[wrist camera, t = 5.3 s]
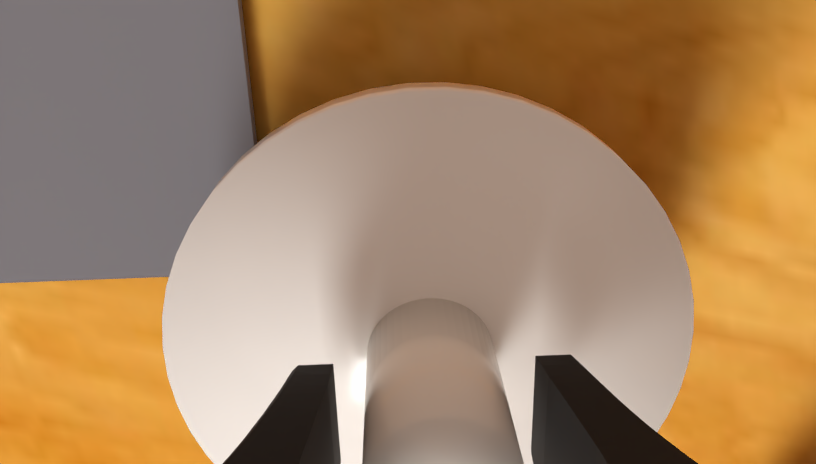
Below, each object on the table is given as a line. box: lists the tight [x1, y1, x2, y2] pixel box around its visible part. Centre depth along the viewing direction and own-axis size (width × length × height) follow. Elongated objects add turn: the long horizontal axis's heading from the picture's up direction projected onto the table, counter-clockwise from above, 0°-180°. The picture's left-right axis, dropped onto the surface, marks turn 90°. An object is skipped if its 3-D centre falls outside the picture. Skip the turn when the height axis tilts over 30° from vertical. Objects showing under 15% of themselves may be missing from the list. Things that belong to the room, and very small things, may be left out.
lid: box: [162, 82, 694, 464], centre depth 13 cm, size 10×10×4 cm
